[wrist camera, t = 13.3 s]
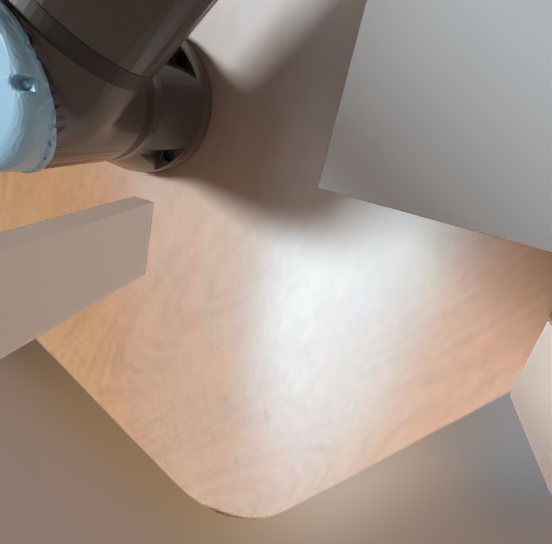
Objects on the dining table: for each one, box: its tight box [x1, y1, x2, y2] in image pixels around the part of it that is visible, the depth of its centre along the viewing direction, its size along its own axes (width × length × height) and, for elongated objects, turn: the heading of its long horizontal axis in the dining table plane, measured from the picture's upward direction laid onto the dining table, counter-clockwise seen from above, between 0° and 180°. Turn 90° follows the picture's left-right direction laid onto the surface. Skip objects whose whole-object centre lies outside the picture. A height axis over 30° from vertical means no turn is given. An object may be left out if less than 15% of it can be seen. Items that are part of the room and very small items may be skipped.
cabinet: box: [318, 0, 552, 252], centre depth 29 cm, size 25×16×22 cm, turn 77°
